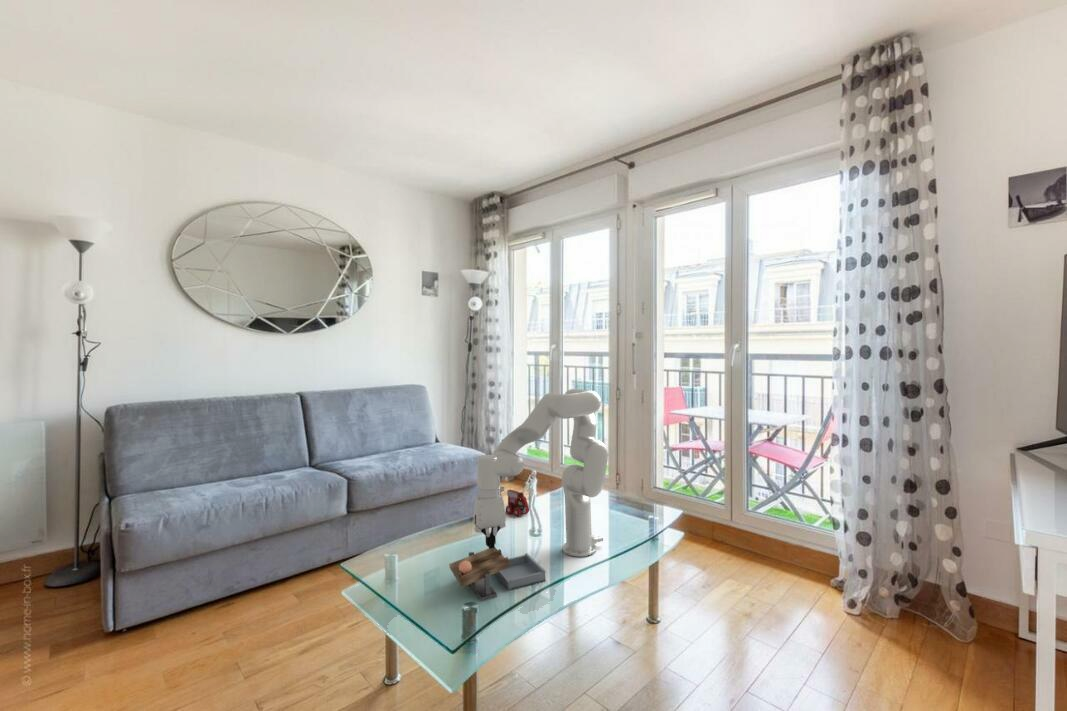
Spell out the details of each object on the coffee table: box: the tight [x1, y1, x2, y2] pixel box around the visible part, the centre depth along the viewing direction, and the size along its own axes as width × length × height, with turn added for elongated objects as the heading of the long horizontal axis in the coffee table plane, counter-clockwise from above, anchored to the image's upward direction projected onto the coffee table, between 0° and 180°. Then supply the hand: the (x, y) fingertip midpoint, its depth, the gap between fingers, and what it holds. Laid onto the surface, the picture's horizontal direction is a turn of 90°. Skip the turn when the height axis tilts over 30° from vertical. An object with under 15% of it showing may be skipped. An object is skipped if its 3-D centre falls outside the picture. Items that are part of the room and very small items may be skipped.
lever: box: [448, 547, 510, 588], centre depth 152 cm, size 16×15×4 cm
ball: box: [459, 561, 472, 575], centre depth 147 cm, size 4×4×4 cm
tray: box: [494, 552, 547, 591], centre depth 157 cm, size 13×15×4 cm
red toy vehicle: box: [505, 489, 530, 518], centre depth 218 cm, size 7×12×10 cm, turn 47°
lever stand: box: [468, 551, 498, 602], centre depth 152 cm, size 5×19×8 cm, turn 24°
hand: (490, 546), depth 159 cm, fingers closed
